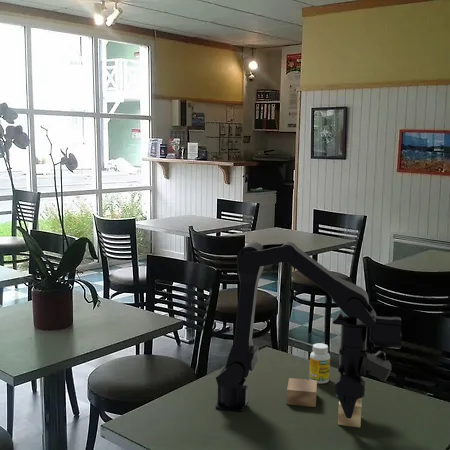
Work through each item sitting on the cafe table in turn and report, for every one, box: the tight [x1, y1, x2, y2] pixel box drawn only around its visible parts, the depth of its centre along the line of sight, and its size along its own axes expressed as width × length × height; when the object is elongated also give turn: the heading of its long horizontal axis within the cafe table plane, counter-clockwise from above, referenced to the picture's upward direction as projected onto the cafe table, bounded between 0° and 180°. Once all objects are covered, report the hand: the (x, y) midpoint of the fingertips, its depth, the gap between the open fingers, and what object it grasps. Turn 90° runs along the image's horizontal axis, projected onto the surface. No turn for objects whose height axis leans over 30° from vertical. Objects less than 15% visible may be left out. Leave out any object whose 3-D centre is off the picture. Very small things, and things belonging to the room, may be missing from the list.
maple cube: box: [337, 397, 363, 428], centre depth 132 cm, size 5×5×5 cm
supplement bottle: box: [309, 342, 331, 384], centre depth 154 cm, size 5×5×10 cm
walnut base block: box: [286, 377, 318, 408], centre depth 143 cm, size 7×7×4 cm
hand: (349, 408), depth 132 cm, fingers open, 9 cm apart
